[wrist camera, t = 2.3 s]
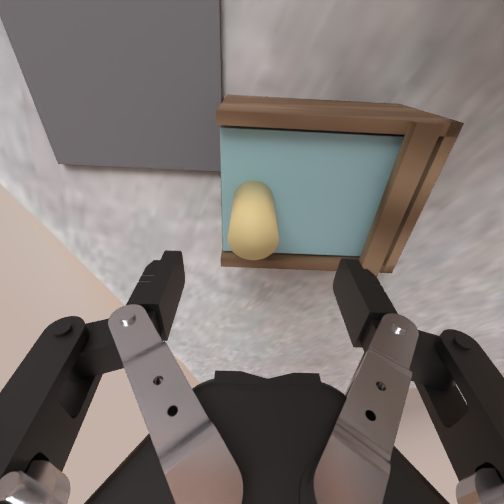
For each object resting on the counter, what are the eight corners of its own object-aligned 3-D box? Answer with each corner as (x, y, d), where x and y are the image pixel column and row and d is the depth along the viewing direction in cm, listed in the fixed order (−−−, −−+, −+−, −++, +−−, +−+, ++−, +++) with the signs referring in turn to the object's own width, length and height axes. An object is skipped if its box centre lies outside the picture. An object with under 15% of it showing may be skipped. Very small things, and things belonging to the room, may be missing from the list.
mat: (-11, -27, 18) (-18, -29, 18) (219, -12, 18) (218, -14, 18) (61, 161, 26) (58, 163, 25) (223, 169, 26) (222, 171, 26)
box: (227, 94, 22) (214, 112, 15) (399, 104, 23) (472, 125, 15) (228, 218, 29) (219, 272, 22) (359, 223, 30) (395, 279, 22)
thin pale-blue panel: (221, 125, 17) (207, 151, 12) (424, 135, 18) (493, 165, 13) (223, 245, 23) (215, 297, 18) (376, 251, 23) (410, 304, 18)
